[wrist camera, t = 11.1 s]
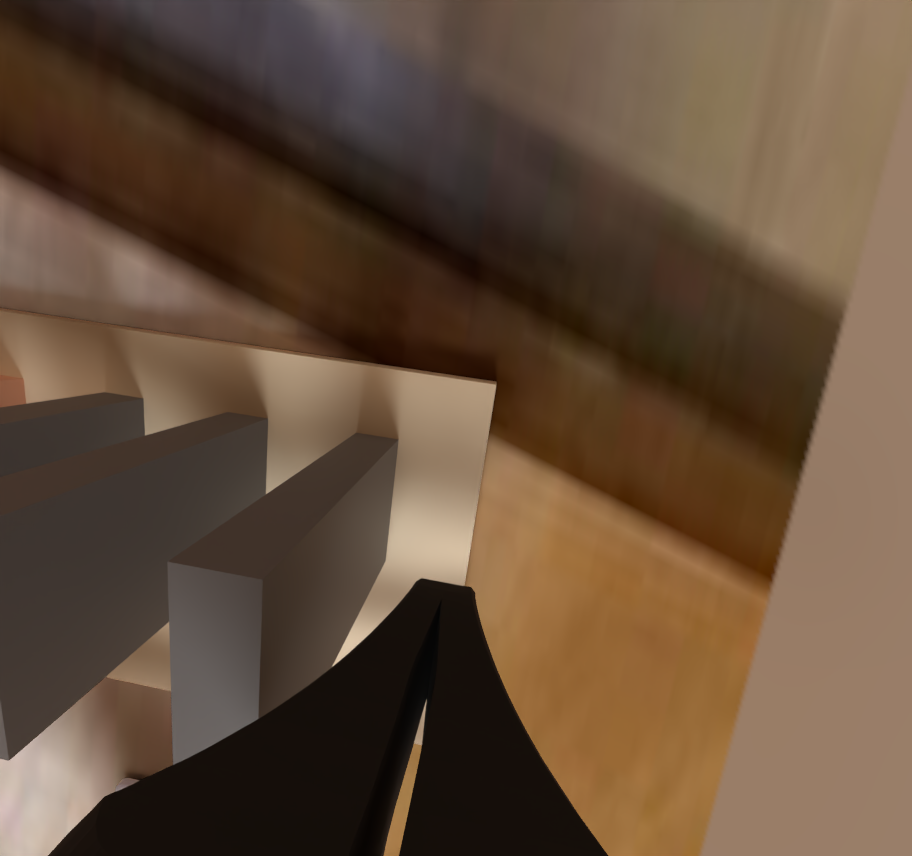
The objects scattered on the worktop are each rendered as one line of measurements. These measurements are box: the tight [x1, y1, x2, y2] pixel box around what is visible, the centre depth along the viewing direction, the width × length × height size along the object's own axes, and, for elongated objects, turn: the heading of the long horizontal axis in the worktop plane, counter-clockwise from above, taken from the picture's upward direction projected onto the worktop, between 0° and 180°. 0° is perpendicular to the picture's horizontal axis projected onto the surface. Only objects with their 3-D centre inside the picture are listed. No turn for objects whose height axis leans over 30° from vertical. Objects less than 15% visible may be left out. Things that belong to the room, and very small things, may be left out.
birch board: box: [0, 308, 497, 745], centre depth 18 cm, size 16×30×1 cm, turn 82°
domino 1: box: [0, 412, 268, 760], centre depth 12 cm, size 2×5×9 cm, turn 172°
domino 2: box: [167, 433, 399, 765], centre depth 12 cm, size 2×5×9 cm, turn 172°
